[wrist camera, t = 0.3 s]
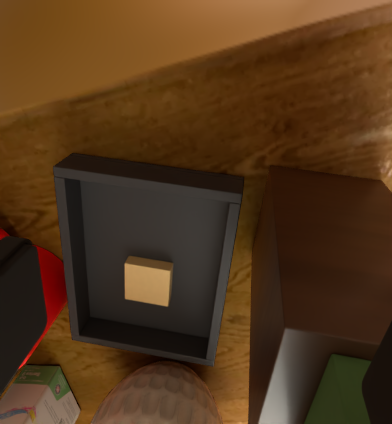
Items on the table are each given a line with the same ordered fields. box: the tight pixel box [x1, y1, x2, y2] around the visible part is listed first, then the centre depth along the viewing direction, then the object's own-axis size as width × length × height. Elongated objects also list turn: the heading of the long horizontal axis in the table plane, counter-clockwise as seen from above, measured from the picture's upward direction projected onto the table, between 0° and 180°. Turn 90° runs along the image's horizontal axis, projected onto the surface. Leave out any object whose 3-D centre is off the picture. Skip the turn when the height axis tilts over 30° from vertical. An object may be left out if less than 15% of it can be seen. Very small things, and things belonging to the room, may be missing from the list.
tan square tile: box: [125, 256, 173, 306], centre depth 31 cm, size 4×4×1 cm
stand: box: [248, 166, 392, 424], centre depth 21 cm, size 8×8×16 cm
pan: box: [53, 153, 244, 367], centre depth 30 cm, size 18×14×3 cm
